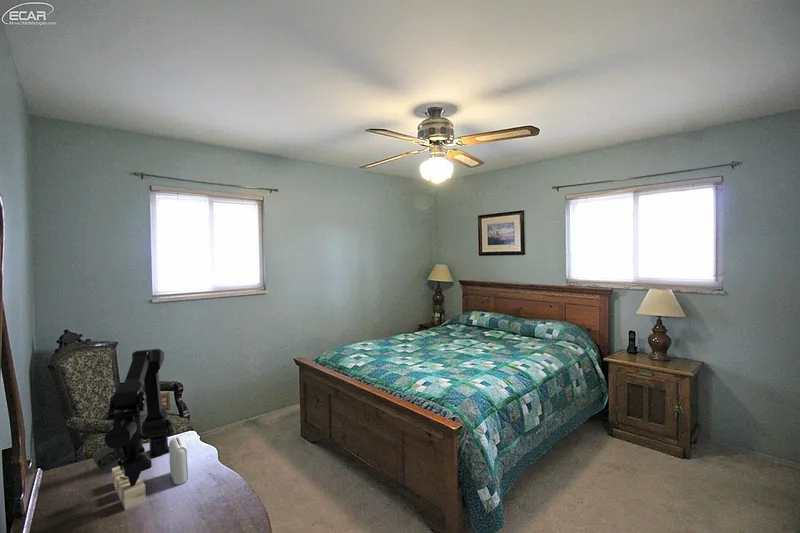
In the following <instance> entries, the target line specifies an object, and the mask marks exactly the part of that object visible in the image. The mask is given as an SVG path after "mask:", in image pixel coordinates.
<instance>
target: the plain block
mask: <svg viewBox="0 0 800 533" xmlns="http://www.w3.org/2000/svg"><path fill="white" fill-rule="evenodd" d="M146 492H147V491H146V484H145V482H144V480H143V479H142V478H140V479H139V480H137V482H136V484H135V485H134V486H131V485H130V483H128V484H126V485H123V486H121V500H120V501H121V505H122V507H123V510H124V511H127V510H129V509H132V508H134V507H137V506H140V505H141V504H144V503H146V502H147V495H146Z"/></svg>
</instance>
